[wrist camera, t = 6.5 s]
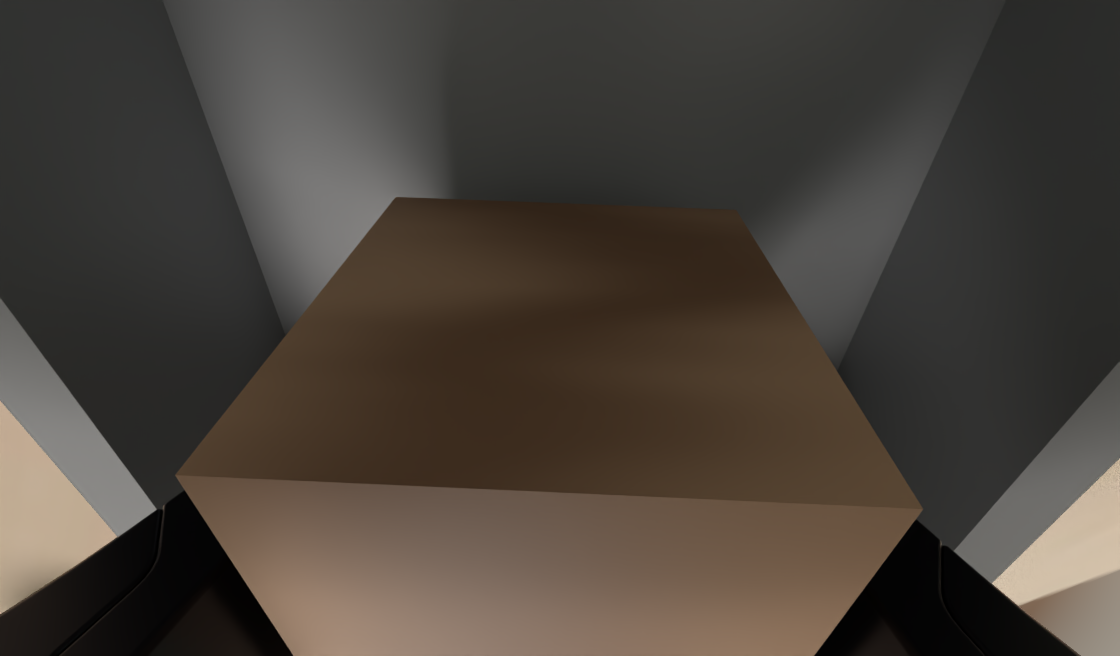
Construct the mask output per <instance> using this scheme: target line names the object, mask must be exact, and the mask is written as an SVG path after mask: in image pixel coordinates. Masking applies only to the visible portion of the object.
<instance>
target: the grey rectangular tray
mask: <svg viewBox="0 0 1120 656" xmlns="http://www.w3.org/2000/svg"><path fill="white" fill-rule="evenodd" d="M395 197H412V198H438V199H464V200H491V201H517V202H543V203H570V204H596V205H622V206H649V207H675V208H701V209H728V210H737V212H738V214H739V215H740V217H741V218H742V220H743V222H744V223H745V225H746V226H747V228H748V230H749V231H750V233H751V234H752V236H753V238H754V239H755V241H756V242H757V244H758V246H759V247H760V249H761V250H762V252H763V254H764V255H765V257H766V258H767V260H768V262H769V263H770V265H771V266H772V268H773V270H774V271H775V273H776V274H777V276H778V278H779V279H780V281H781V282H782V284H783V286H784V287H785V289H786V290H787V292H788V294H789V295H790V297H791V298H792V300H793V302H794V303H795V305H796V306H797V308H798V310H799V311H800V313H801V314H802V316H803V318H804V319H805V321H806V322H807V324H808V326H809V327H810V329H811V330H812V332H813V334H814V335H815V337H816V338H817V340H818V342H819V343H820V345H821V346H822V348H823V350H824V351H825V353H826V354H827V356H828V358H829V359H830V361H831V362H832V364H833V366H834V367H835V369H836V370H837V372H838V374H839V375H840V377H841V378H842V380H843V382H844V383H845V385H846V386H847V388H848V390H849V391H850V393H851V394H852V396H853V398H854V399H855V401H856V402H857V404H858V406H859V407H860V409H861V410H862V412H863V414H864V415H865V417H866V418H867V420H868V422H869V423H870V425H871V426H872V428H873V430H874V431H875V433H876V434H877V436H878V438H879V439H880V441H881V442H882V444H883V446H884V447H885V449H886V450H887V452H888V454H889V455H890V457H891V458H892V460H893V462H894V463H895V465H896V466H897V468H898V470H899V471H900V473H901V474H902V476H903V478H904V479H905V481H906V482H907V484H908V486H909V487H910V489H911V490H912V492H913V494H914V495H915V497H916V498H917V500H918V502H919V503H920V505H921V506H922V508H923V510H922V511H921V513H920V514H919V515H918V517H917V518H916V519H917V520H918V521H919V522H921V523H922V524H923V525H924V526H925V527H926V528H927V529H929V530H930V531H931V532H932V533H933V534H934V535H936V536H937V537H938V538H939V539H940V540H941V543H942V545H946V546H948V547H950V548H951V549H952V550H953V551H954V552H955V553H957V554H958V555H959V556H960V557H961V558H962V559H963V560H965V561H966V562H967V563H968V564H969V565H970V566H972V567H973V568H974V569H975V570H976V571H977V572H979V573H980V574H981V575H982V576H983V577H984V578H986V579H987V580H988V581H989V582H990V583H992V582H993V581H994V580H995V579H997V578H998V577H999V576H1000V575H1001V574H1002V573H1003V572H1004V571H1005V570H1006V569H1007V568H1008V567H1009V566H1010V565H1011V564H1012V563H1013V562H1014V561H1015V560H1016V559H1017V558H1018V557H1019V556H1020V555H1021V554H1022V553H1023V552H1024V551H1025V550H1026V549H1027V548H1028V547H1029V546H1030V545H1031V544H1032V543H1033V542H1034V541H1035V540H1036V539H1037V538H1038V537H1039V536H1040V535H1042V534H1043V533H1044V532H1045V531H1046V530H1047V529H1048V528H1049V527H1050V526H1051V525H1052V524H1053V523H1054V522H1055V521H1056V520H1057V519H1058V518H1059V517H1060V516H1061V515H1062V514H1063V513H1064V512H1065V511H1066V510H1067V509H1068V508H1069V507H1070V506H1071V505H1072V504H1073V503H1074V502H1075V501H1076V500H1077V499H1078V498H1079V497H1080V496H1081V495H1082V494H1083V493H1084V492H1085V491H1087V490H1088V489H1089V488H1090V487H1091V486H1092V485H1093V484H1094V483H1095V482H1096V481H1097V480H1098V479H1099V478H1100V477H1101V476H1102V475H1103V474H1104V473H1105V472H1106V471H1107V470H1108V469H1109V468H1110V467H1111V466H1112V465H1113V464H1114V463H1115V462H1116V461H1117V460H1118V459H1119V458H1120V0H0V401H1V402H2V403H3V404H4V405H5V406H6V408H7V409H8V410H9V411H10V412H11V413H12V415H13V416H14V417H15V418H16V419H17V420H18V422H19V423H20V424H21V425H22V426H23V427H24V429H25V430H26V431H27V432H28V433H29V434H30V436H31V437H32V438H33V439H34V440H35V441H36V442H37V444H38V445H39V446H40V447H41V448H42V449H43V451H44V452H45V453H46V454H47V455H48V456H49V458H50V459H51V460H52V461H53V462H54V463H55V465H56V466H57V467H58V468H59V469H60V470H61V472H62V473H63V474H64V475H65V476H66V477H67V478H68V480H69V481H70V482H71V483H72V484H73V485H74V487H75V488H76V489H77V490H78V491H79V492H80V494H81V495H82V496H83V497H84V498H85V499H86V501H87V502H88V503H89V504H90V505H91V506H92V508H93V509H94V510H95V511H96V512H97V513H98V514H99V516H100V517H101V518H102V519H103V520H104V521H105V523H106V524H107V525H108V526H109V527H110V528H111V530H112V531H113V532H114V533H115V534H116V535H117V537H118V536H120V535H121V534H123V533H124V532H126V531H127V530H128V529H130V528H131V527H133V526H134V525H135V524H137V523H138V522H140V521H141V520H142V519H144V518H145V517H147V516H148V515H149V514H151V513H152V512H154V511H155V510H157V509H162V510H163V506H164V504H165V503H167V502H168V501H169V500H171V499H172V498H174V497H175V496H176V495H178V494H179V493H181V492H182V491H183V490H184V488H183V487H182V485H181V484H180V482H179V481H178V479H177V477H176V476H175V475H176V473H177V472H178V471H179V469H180V468H181V467H182V466H183V464H184V463H185V462H186V461H187V459H188V458H189V457H190V456H191V454H192V453H193V452H194V451H195V449H196V448H197V447H198V446H199V444H200V443H201V442H202V440H203V439H204V438H205V437H206V435H207V434H208V433H209V432H210V430H211V429H212V428H213V427H214V425H215V424H216V423H217V422H218V420H219V419H220V418H221V417H222V415H223V414H224V413H225V412H226V410H227V409H228V408H229V406H230V405H231V404H232V403H233V401H234V400H235V399H236V398H237V396H238V395H239V394H240V393H241V391H242V390H243V389H244V388H245V386H246V385H247V384H248V383H249V381H250V380H251V379H252V377H253V376H254V375H255V374H256V372H257V371H258V370H259V369H260V367H261V366H262V365H263V364H264V362H265V361H266V360H267V359H268V357H269V356H270V355H271V354H272V352H273V351H274V350H275V348H276V347H277V346H278V345H279V343H280V342H281V341H282V340H283V338H284V337H285V336H286V335H287V333H288V332H289V331H290V330H291V328H292V327H293V326H294V325H295V323H296V322H297V321H298V320H299V318H300V317H301V316H302V314H303V313H304V312H305V311H306V309H307V308H308V307H309V306H310V304H311V303H312V302H313V301H314V299H315V298H316V297H317V296H318V294H319V293H320V292H321V291H322V289H323V288H324V287H325V285H326V284H327V283H328V282H329V280H330V279H331V278H332V277H333V275H334V274H335V273H336V272H337V270H338V269H339V268H340V267H341V265H342V264H343V263H344V262H345V260H346V259H347V258H348V256H349V255H350V254H351V253H352V251H353V250H354V249H355V248H356V246H357V245H358V244H359V243H360V241H361V240H362V239H363V238H364V236H365V235H366V234H367V233H368V231H369V230H370V229H371V227H372V226H373V225H374V224H375V222H376V221H377V220H378V219H379V217H380V216H381V215H382V214H383V212H384V211H385V210H386V209H387V207H388V206H389V205H390V204H391V202H392V201H393V200H394V199H395Z"/></svg>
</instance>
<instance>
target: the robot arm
mask: <svg viewBox="0 0 1120 656" xmlns="http://www.w3.org/2000/svg"><path fill="white" fill-rule="evenodd" d="M0 656H293V654H292V653H291V651H290V650H289V648H288V647H287V645H286V643H285V642H284V640H283V639H282V637H281V636H280V634H279V633H278V631H277V630H276V628H275V627H274V625H273V624H272V622H271V621H270V619H269V618H268V616H267V615H266V613H265V611H264V610H263V608H262V607H261V605H260V604H259V602H258V601H257V599H256V598H255V596H254V595H253V593H252V592H251V590H250V589H249V587H248V586H247V584H246V583H245V581H244V580H243V578H242V576H241V575H240V573H239V572H238V570H237V569H236V567H235V566H234V564H233V563H232V561H231V560H230V558H229V557H228V555H227V554H226V552H225V551H224V549H223V548H222V546H221V544H220V543H219V541H218V540H217V538H216V537H215V535H214V534H213V532H212V531H211V529H210V528H209V526H208V525H207V523H206V522H205V520H204V519H203V517H202V516H201V514H200V512H199V511H198V509H197V508H196V506H195V505H194V503H193V502H192V500H191V499H190V497H189V496H188V494H187V493H186V491H185V490H183V491H182V492H181V493H179V494H178V495H176V496H175V497H174V498H172V499H171V500H169V501H168V502H167V503H165V504H164V506H163V510H162V509H157V510H155V511H154V512H152V513H151V514H149V515H148V516H147V517H145V518H144V519H142V520H141V521H140V522H138V523H137V524H135V525H134V526H133V527H131V528H130V529H128V530H127V531H126V532H124V533H123V534H121V535H120V536H118V537H117V538H115V539H114V540H112V541H111V542H110V543H108V544H107V545H105V546H104V547H102V548H101V549H99V550H98V551H96V552H95V553H94V554H92V555H91V556H89V557H88V558H86V559H85V560H83V561H82V562H80V563H79V564H78V565H76V566H75V567H73V568H72V569H70V570H68V571H67V572H65V573H64V574H62V575H61V576H59V577H58V578H56V579H55V580H53V581H51V582H50V583H48V584H47V585H45V586H44V587H42V588H41V589H39V590H38V591H36V592H34V593H33V594H31V595H30V596H28V597H27V598H25V599H24V600H22V601H21V602H19V603H17V604H16V605H14V606H13V607H11V608H10V609H8V610H6V611H5V612H3V613H2V614H0ZM814 656H1080V655H1079V654H1078V653H1077V652H1075V651H1074V650H1073V649H1072V648H1070V647H1069V646H1068V645H1067V644H1065V643H1064V642H1063V641H1061V640H1060V639H1059V638H1058V637H1056V636H1055V635H1054V634H1053V633H1051V632H1050V631H1049V630H1048V629H1046V628H1045V627H1044V626H1043V625H1041V624H1040V623H1039V622H1037V621H1036V620H1035V619H1034V618H1033V617H1031V616H1030V615H1029V614H1027V613H1026V612H1025V611H1024V610H1023V609H1021V608H1020V607H1019V606H1018V605H1017V604H1015V603H1014V602H1013V601H1012V600H1011V599H1009V598H1008V597H1007V596H1006V595H1005V594H1004V593H1002V592H1001V591H1000V590H999V589H998V588H996V587H995V586H994V585H993V584H992V583H990V582H989V581H988V580H987V579H986V578H984V577H983V576H982V575H981V574H980V573H979V572H977V571H976V570H975V569H974V568H973V567H972V566H970V565H969V564H968V563H967V562H966V561H965V560H963V559H962V558H961V557H960V556H959V555H958V554H957V553H955V552H954V551H953V550H952V549H951V548H950V547H948V546H946V545H942V543H941V540H940V539H939V538H938V537H937V536H936V535H934V534H933V533H932V532H931V531H930V530H929V529H927V528H926V527H925V526H924V525H923V524H922V523H921V522H919V521H918V520H917V519H916V520H915V521H914V522H913V524H912V525H911V526H910V528H909V529H908V530H907V532H906V533H905V534H904V536H903V537H902V538H901V540H900V541H899V542H898V544H897V545H896V546H895V548H894V549H893V550H892V552H891V553H890V554H889V556H888V557H887V559H886V560H885V561H884V563H883V564H882V565H881V567H880V568H879V569H878V571H877V572H876V573H875V575H874V576H873V577H872V579H871V580H870V581H869V583H868V584H867V585H866V587H865V588H864V589H863V591H862V592H861V593H860V595H859V596H858V598H857V599H856V600H855V602H854V603H853V604H852V606H851V607H850V608H849V610H848V611H847V612H846V614H845V615H844V616H843V618H842V619H841V620H840V622H839V623H838V624H837V626H836V627H835V628H834V630H833V631H832V632H831V634H830V635H829V637H828V638H827V639H826V641H825V642H824V643H823V645H822V646H821V647H820V649H819V650H818V651H817V653H816V654H815V655H814Z"/></svg>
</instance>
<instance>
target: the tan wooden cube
mask: <svg viewBox="0 0 1120 656" xmlns="http://www.w3.org/2000/svg"><path fill="white" fill-rule="evenodd" d="M175 476H176V477H177V479H178V481H179V482H180V484H181V485H182V487H183V488H184V490H185V491H186V493H187V494H188V496H189V497H190V499H191V500H192V502H193V503H194V505H195V506H196V508H197V509H198V511H199V512H200V514H201V516H202V517H203V519H204V520H205V522H206V523H207V525H208V526H209V528H210V529H211V531H212V532H213V534H214V535H215V537H216V538H217V540H218V541H219V543H220V544H221V546H222V548H223V549H224V551H225V552H226V554H227V555H228V557H229V558H230V560H231V561H232V563H233V564H234V566H235V567H236V569H237V570H238V572H239V573H240V575H241V576H242V578H243V580H244V581H245V583H246V584H247V586H248V587H249V589H250V590H251V592H252V593H253V595H254V596H255V598H256V599H257V601H258V602H259V604H260V605H261V607H262V608H263V610H264V611H265V613H266V615H267V616H268V618H269V619H270V621H271V622H272V624H273V625H274V627H275V628H276V630H277V631H278V633H279V634H280V636H281V637H282V639H283V640H284V642H285V643H286V645H287V647H288V648H289V650H290V651H291V653H292V654H293V656H814V655H815V654H816V653H817V651H818V650H819V649H820V647H821V646H822V645H823V643H824V642H825V641H826V639H827V638H828V637H829V635H830V634H831V632H832V631H833V630H834V628H835V627H836V626H837V624H838V623H839V622H840V620H841V619H842V618H843V616H844V615H845V614H846V612H847V611H848V610H849V608H850V607H851V606H852V604H853V603H854V602H855V600H856V599H857V598H858V596H859V595H860V593H861V592H862V591H863V589H864V588H865V587H866V585H867V584H868V583H869V581H870V580H871V579H872V577H873V576H874V575H875V573H876V572H877V571H878V569H879V568H880V567H881V565H882V564H883V563H884V561H885V560H886V559H887V557H888V556H889V554H890V553H891V552H892V550H893V549H894V548H895V546H896V545H897V544H898V542H899V541H900V540H901V538H902V537H903V536H904V534H905V533H906V532H907V530H908V529H909V528H910V526H911V525H912V524H913V522H914V521H915V520H916V518H917V517H918V515H919V514H920V513H921V511H922V510H923V508H922V506H921V505H920V503H919V502H918V500H917V498H916V497H915V495H914V494H913V492H912V490H911V489H910V487H909V486H908V484H907V482H906V481H905V479H904V478H903V476H902V474H901V473H900V471H899V470H898V468H897V466H896V465H895V463H894V462H893V460H892V458H891V457H890V455H889V454H888V452H887V450H886V449H885V447H884V446H883V444H882V442H881V441H880V439H879V438H878V436H877V434H876V433H875V431H874V430H873V428H872V426H871V425H870V423H869V422H868V420H867V418H866V417H865V415H864V414H863V412H862V410H861V409H860V407H859V406H858V404H857V402H856V401H855V399H854V398H853V396H852V394H851V393H850V391H849V390H848V388H847V386H846V385H845V383H844V382H843V380H842V378H841V377H840V375H839V374H838V372H837V370H836V369H835V367H834V366H833V364H832V362H831V361H830V359H829V358H828V356H827V354H826V353H825V351H824V350H823V348H822V346H821V345H820V343H819V342H818V340H817V338H816V337H815V335H814V334H813V332H812V330H811V329H810V327H809V326H808V324H807V322H806V321H805V319H804V318H803V316H802V314H801V313H800V311H799V310H798V308H797V306H796V305H795V303H794V302H793V300H792V298H791V297H790V295H789V294H788V292H787V290H786V289H785V287H784V286H783V284H782V282H781V281H780V279H779V278H778V276H777V274H776V273H775V271H774V270H773V268H772V266H771V265H770V263H769V262H768V260H767V258H766V257H765V255H764V254H763V252H762V250H761V249H760V247H759V246H758V244H757V242H756V241H755V239H754V238H753V236H752V234H751V233H750V231H749V230H748V228H747V226H746V225H745V223H744V222H743V220H742V218H741V217H740V215H739V214H738V212H737V210H728V209H701V208H675V207H649V206H622V205H596V204H570V203H543V202H517V201H491V200H464V199H438V198H412V197H395V199H394V200H393V201H392V202H391V204H390V205H389V206H388V207H387V209H386V210H385V211H384V212H383V214H382V215H381V216H380V217H379V219H378V220H377V221H376V222H375V224H374V225H373V226H372V227H371V229H370V230H369V231H368V233H367V234H366V235H365V236H364V238H363V239H362V240H361V241H360V243H359V244H358V245H357V246H356V248H355V249H354V250H353V251H352V253H351V254H350V255H349V256H348V258H347V259H346V260H345V262H344V263H343V264H342V265H341V267H340V268H339V269H338V270H337V272H336V273H335V274H334V275H333V277H332V278H331V279H330V280H329V282H328V283H327V284H326V285H325V287H324V288H323V289H322V291H321V292H320V293H319V294H318V296H317V297H316V298H315V299H314V301H313V302H312V303H311V304H310V306H309V307H308V308H307V309H306V311H305V312H304V313H303V314H302V316H301V317H300V318H299V320H298V321H297V322H296V323H295V325H294V326H293V327H292V328H291V330H290V331H289V332H288V333H287V335H286V336H285V337H284V338H283V340H282V341H281V342H280V343H279V345H278V346H277V347H276V348H275V350H274V351H273V352H272V354H271V355H270V356H269V357H268V359H267V360H266V361H265V362H264V364H263V365H262V366H261V367H260V369H259V370H258V371H257V372H256V374H255V375H254V376H253V377H252V379H251V380H250V381H249V383H248V384H247V385H246V386H245V388H244V389H243V390H242V391H241V393H240V394H239V395H238V396H237V398H236V399H235V400H234V401H233V403H232V404H231V405H230V406H229V408H228V409H227V410H226V412H225V413H224V414H223V415H222V417H221V418H220V419H219V420H218V422H217V423H216V424H215V425H214V427H213V428H212V429H211V430H210V432H209V433H208V434H207V435H206V437H205V438H204V439H203V440H202V442H201V443H200V444H199V446H198V447H197V448H196V449H195V451H194V452H193V453H192V454H191V456H190V457H189V458H188V459H187V461H186V462H185V463H184V464H183V466H182V467H181V468H180V469H179V471H178V472H177V473H176V475H175Z"/></svg>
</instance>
